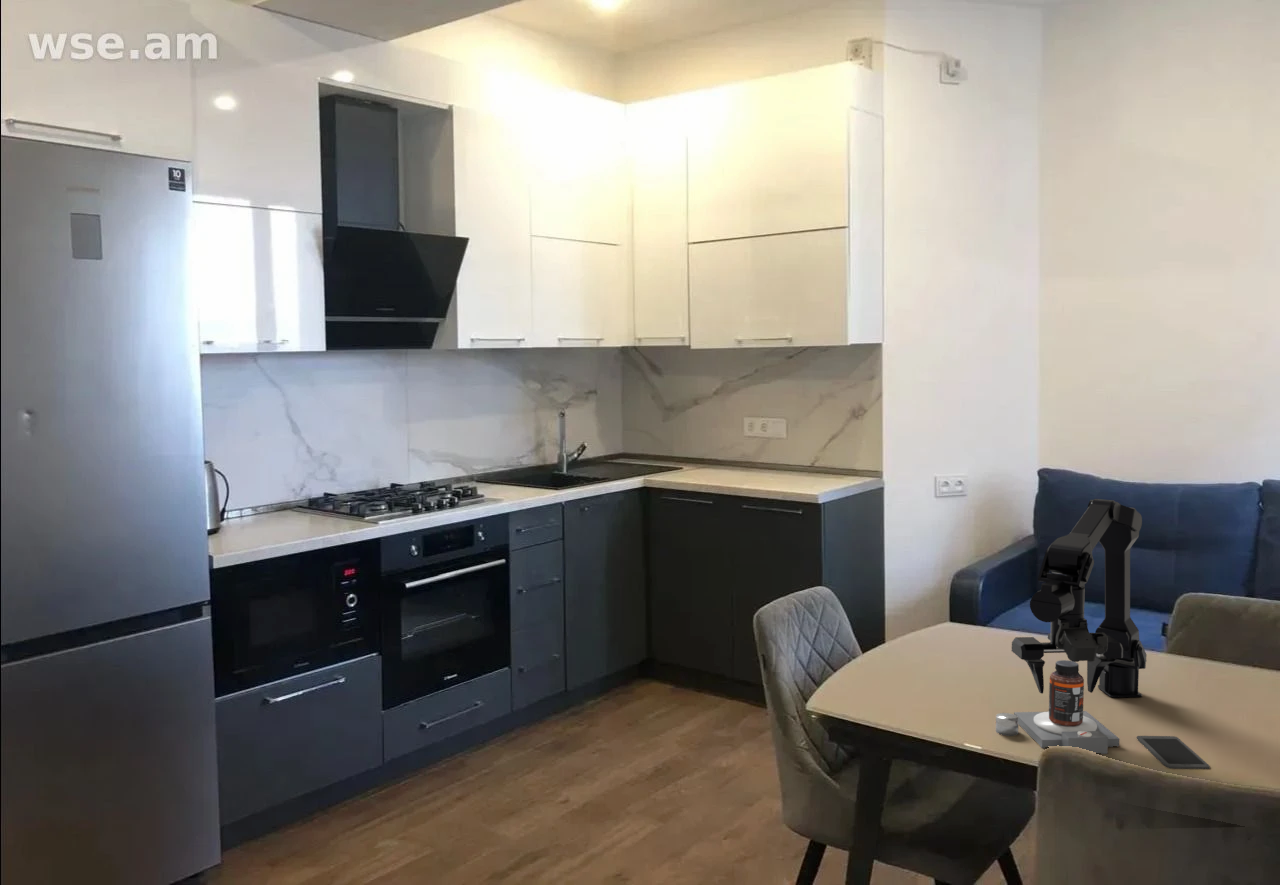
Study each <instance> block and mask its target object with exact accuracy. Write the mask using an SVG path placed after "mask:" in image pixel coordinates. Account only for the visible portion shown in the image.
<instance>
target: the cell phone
mask: <svg viewBox="0 0 1280 885" xmlns="http://www.w3.org/2000/svg"><path fill="white" fill-rule="evenodd" d="M1136 738H1137V739H1138V740H1137V739H1136V740H1137V741H1138V742H1139V743H1140V744H1141V745H1142V746H1143V745H1144V746H1143V747H1144V748H1145V749H1146V750H1147V749H1148V752H1149V753H1151V755H1153V757H1154V758H1156V759H1157V761H1159V763H1161V764H1162V765H1163V766H1164V767H1165V768H1167V769H1171V770H1173V769H1174V770H1178V769H1179V770H1210V768H1211V767H1210V765H1209V764H1208V763H1207V762H1206V761H1205V760H1204V759H1203V758H1201V757H1200V756H1199V755H1198V754H1197V753H1196V752H1195V751H1194V750H1192V749H1191V748H1190V747H1189V746H1188V745H1187V744H1186V743H1184V741H1183V740H1181V739H1180V738H1179V737H1178V736H1175V735H1174V736H1173V735H1137V736H1136Z"/></svg>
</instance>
